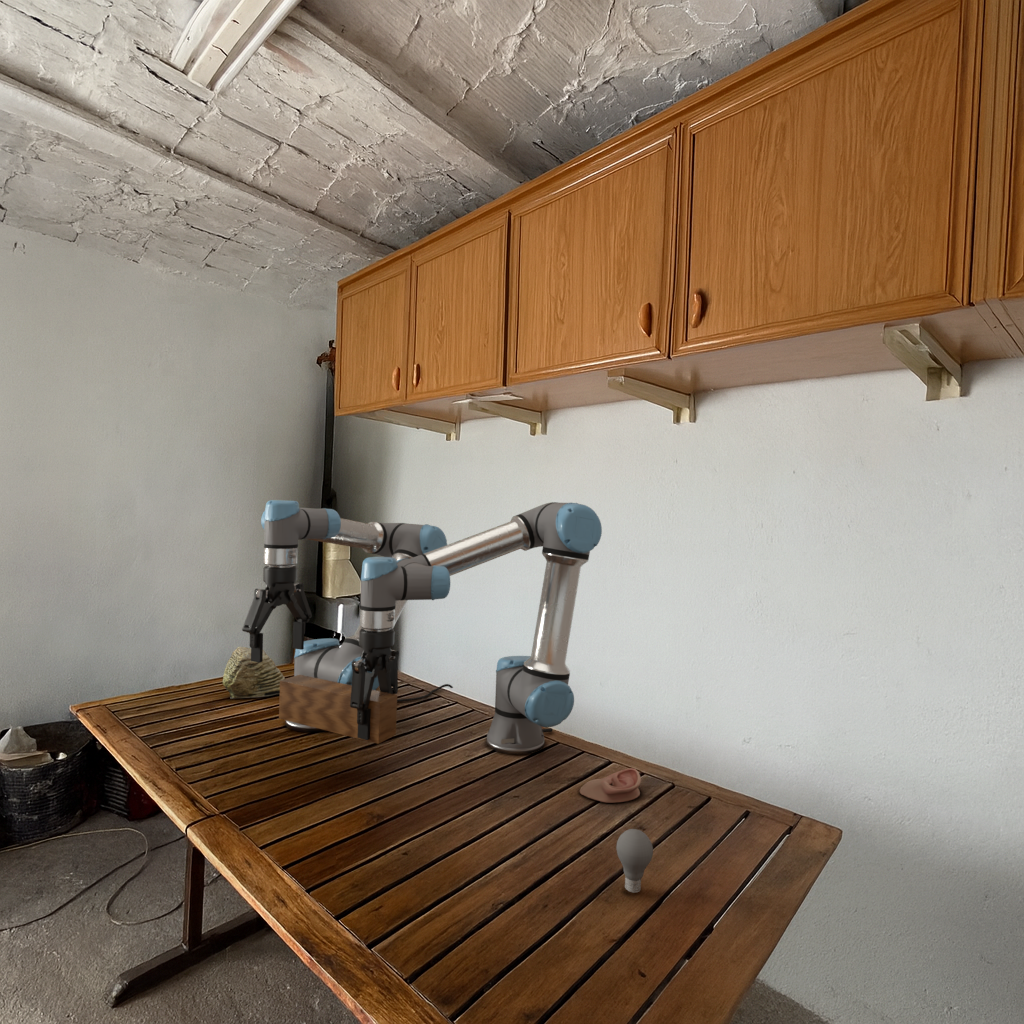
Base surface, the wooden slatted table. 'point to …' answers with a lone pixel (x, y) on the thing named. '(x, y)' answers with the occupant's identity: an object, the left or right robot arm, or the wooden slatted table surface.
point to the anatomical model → (614, 787)
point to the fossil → (251, 675)
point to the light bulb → (634, 857)
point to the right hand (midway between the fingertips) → (373, 733)
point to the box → (335, 707)
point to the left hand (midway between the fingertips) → (278, 654)
